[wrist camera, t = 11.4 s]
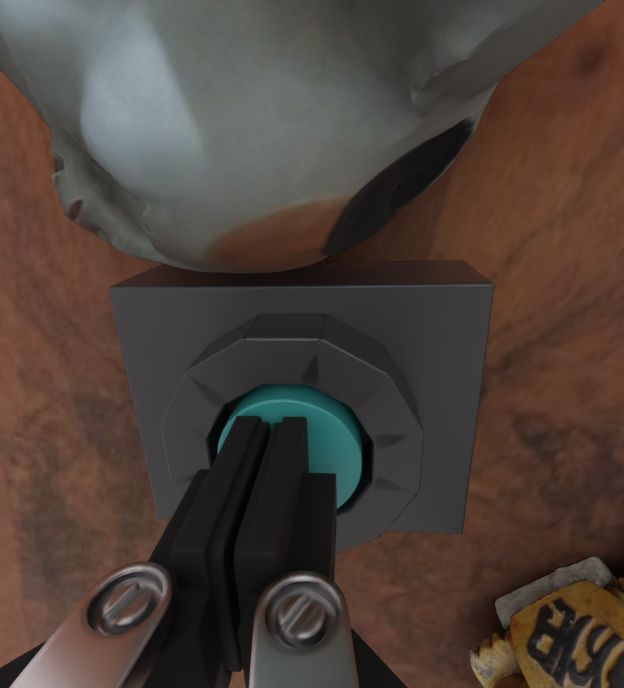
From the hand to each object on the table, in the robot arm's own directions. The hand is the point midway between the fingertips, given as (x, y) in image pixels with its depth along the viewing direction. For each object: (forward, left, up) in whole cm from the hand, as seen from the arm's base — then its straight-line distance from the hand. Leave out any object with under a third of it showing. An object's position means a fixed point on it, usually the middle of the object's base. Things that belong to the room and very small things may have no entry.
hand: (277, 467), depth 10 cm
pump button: (0, 0, -2) cm, 2 cm away
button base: (0, 0, -5) cm, 5 cm away
